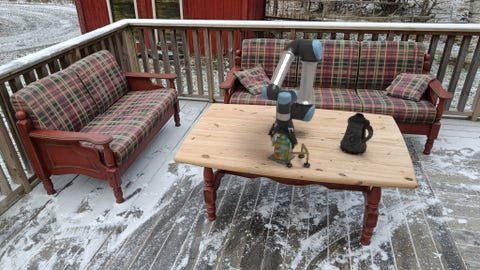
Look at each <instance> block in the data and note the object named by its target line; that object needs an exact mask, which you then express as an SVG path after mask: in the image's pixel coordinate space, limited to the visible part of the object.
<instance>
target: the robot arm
mask: <svg viewBox="0 0 480 270" xmlns="http://www.w3.org/2000/svg"><path fill="white" fill-rule="evenodd" d="M323 53H324V48H323V43H322V42H321V41H319V40H317V39H316V40H315V39H301V38H295V39H293V40H291V41H290V42H288V43H287V44H286V45H285V46H284V47H283V49H282V50H281V53H280V59H279V61H278V62H277V63H278V64H277V65H276V68H275V70H274V71H273V74H272V76H271V79H270V80H269V84H268V86H263V87H262V89H261V91H260V96H261V98H262V99H263V100H266V101H267V100H268V101H273V102H276V106H275V108H276V109H275V121H274V123H272V125H271V128H270V130H269V131H268V133H267V134H268V136H269V137H270V141H271V147H272V148H274V143H275V140H276V135H277V134H278V135H280V134H281V135H286V136H287V138H288V139H289V141H290V143H291V144H290V152H294V149H295V146H296V145H297V144H299V143H298V139H297V135H296V133H295V126H294V122H293V120H295V121H300V122H305V123H309V122H311V120H312V119H313V117H314V115H315V111H316V106H315V105H314V102H313V100H312V96H313V89H314V82H315V74H316V66H317V65H318V64H319V62H320V60H322V58H323ZM296 58H300V62H301V65H302V67H301V74H300V84H299V90H298V91H299V92H298V91H297V90H296V89H294V88H290V89H281V88H282V85H283V82H284V80H285V78H286V76H287V74H288V71H289V69H290V67H291V64H292V62H294V60H296Z"/></svg>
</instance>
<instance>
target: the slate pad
mask: <svg viewBox="0 0 480 270" xmlns="http://www.w3.org/2000/svg"><path fill="white" fill-rule="evenodd" d="M295 157H296V155H291V160H293V159H294V158H295ZM267 159H268V160H271V161H273V162H276V163H278V164H280V165H282V166H283V165H285V166H286V164H287V163H288V161H286V160H279V159H274V152H273V153H272V154H270V155H269V156H268V157H267ZM288 160H289V158H288Z"/></svg>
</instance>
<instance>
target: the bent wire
mask: <svg viewBox="0 0 480 270" xmlns="http://www.w3.org/2000/svg"><path fill="white" fill-rule="evenodd" d="M300 148H301V149H300V151H293V152H290V153H289V160H288V162H287V163H286V164H285V167H286V168H287V167H288V168H287V169H291V167H292V168H293V163H291V155H295V156H296V155H298V156H297V157H298V158H300V159H305V162H303V165H302V166H303V167H304V168H306V167H308V168H311V164H310V163H309V157H310V151H309V149H308V148H307V147H306V145H305V144H304V143H301V146H300ZM305 157H306V158H305Z"/></svg>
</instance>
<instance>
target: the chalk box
mask: <svg viewBox="0 0 480 270" xmlns="http://www.w3.org/2000/svg"><path fill="white" fill-rule="evenodd" d="M290 144H291V143H290V141H289V139H288V137H287V136H286V135H285V134H279V136H276V137H275V143H274V146H273V153H274V159H279V160H286V161H288V158H289V153H290Z"/></svg>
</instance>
